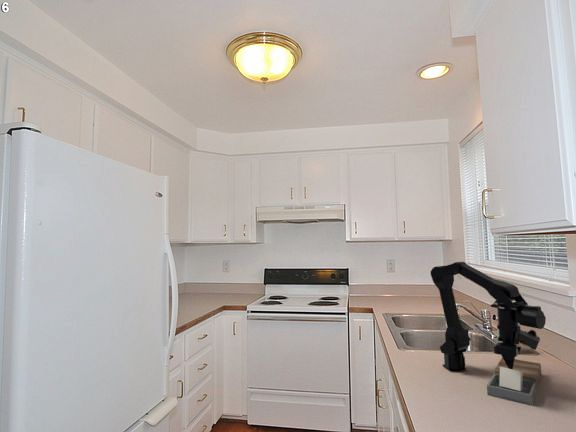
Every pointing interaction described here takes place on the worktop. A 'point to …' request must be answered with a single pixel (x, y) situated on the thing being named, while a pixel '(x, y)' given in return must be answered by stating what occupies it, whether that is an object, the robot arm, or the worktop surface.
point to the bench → (524, 369)
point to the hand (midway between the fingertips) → (510, 369)
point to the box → (512, 391)
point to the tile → (511, 378)
